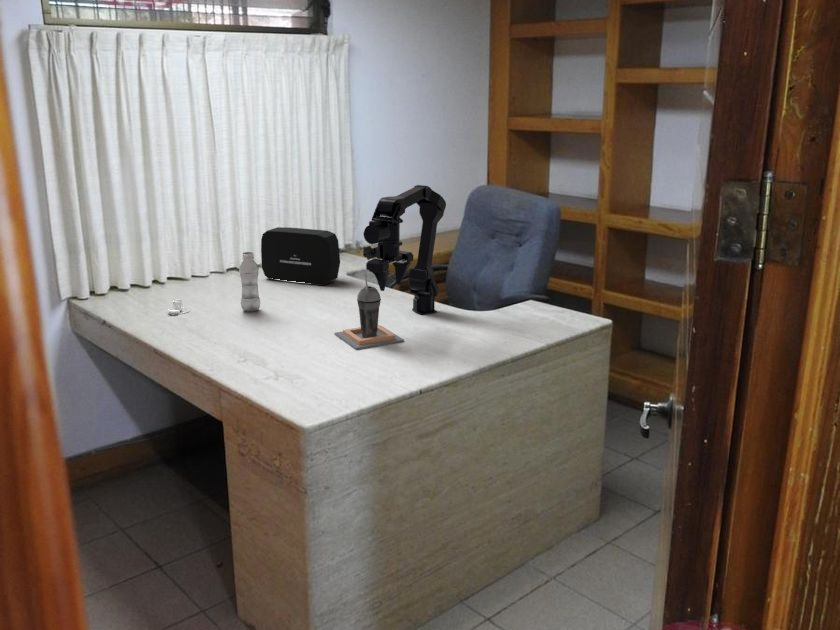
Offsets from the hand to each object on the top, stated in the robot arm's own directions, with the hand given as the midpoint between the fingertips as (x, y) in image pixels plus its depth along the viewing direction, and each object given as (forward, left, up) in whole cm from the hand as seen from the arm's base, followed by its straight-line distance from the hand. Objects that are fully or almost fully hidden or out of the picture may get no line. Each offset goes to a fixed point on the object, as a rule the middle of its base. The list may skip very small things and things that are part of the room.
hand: (390, 287), depth 245 cm
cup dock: (+11, +7, -13) cm, 18 cm away
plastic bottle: (+34, -38, -13) cm, 53 cm away
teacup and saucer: (+59, -49, -14) cm, 78 cm away
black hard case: (+3, -70, -13) cm, 71 cm away
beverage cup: (+11, +7, -13) cm, 18 cm away
